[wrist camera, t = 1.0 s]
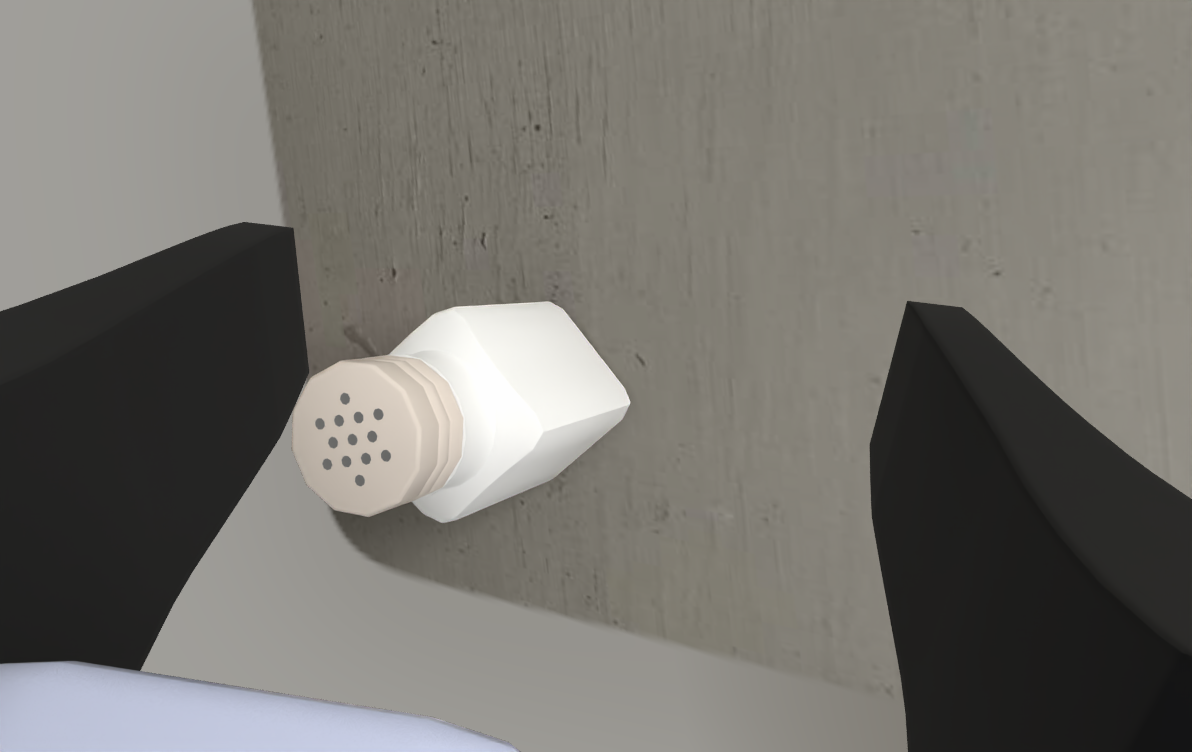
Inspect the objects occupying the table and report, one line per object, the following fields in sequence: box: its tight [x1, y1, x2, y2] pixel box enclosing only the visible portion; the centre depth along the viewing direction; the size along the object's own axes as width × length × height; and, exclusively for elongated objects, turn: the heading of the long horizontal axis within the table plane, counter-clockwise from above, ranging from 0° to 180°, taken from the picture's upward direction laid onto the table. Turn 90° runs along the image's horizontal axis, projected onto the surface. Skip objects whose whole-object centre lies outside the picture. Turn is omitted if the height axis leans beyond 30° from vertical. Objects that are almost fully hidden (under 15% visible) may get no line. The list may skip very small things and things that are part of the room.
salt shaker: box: [292, 302, 630, 523], centre depth 25 cm, size 4×4×10 cm
